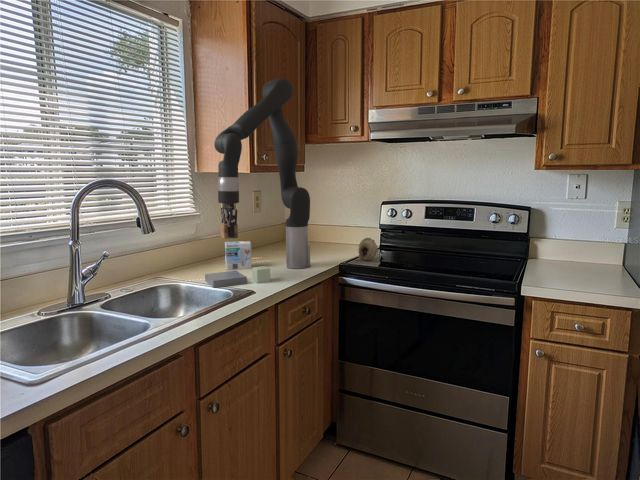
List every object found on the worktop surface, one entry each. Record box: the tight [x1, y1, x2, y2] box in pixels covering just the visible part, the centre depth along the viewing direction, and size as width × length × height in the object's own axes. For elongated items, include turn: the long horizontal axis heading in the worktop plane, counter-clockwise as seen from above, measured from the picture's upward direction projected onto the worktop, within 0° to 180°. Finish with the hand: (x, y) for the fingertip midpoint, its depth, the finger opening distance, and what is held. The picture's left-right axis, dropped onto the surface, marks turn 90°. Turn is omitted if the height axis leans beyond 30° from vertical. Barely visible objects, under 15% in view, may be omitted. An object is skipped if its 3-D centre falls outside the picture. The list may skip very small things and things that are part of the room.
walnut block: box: [220, 223, 239, 240], centre depth 166 cm, size 5×5×5 cm
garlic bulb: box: [357, 237, 378, 261], centre depth 203 cm, size 9×8×10 cm
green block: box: [251, 265, 271, 284], centre depth 165 cm, size 5×5×5 cm
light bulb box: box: [224, 240, 252, 271], centre depth 188 cm, size 11×7×11 cm, turn 105°
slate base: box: [204, 270, 248, 289], centre depth 164 cm, size 12×12×2 cm
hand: (229, 236), depth 166 cm, fingers closed on walnut block, 5 cm apart
